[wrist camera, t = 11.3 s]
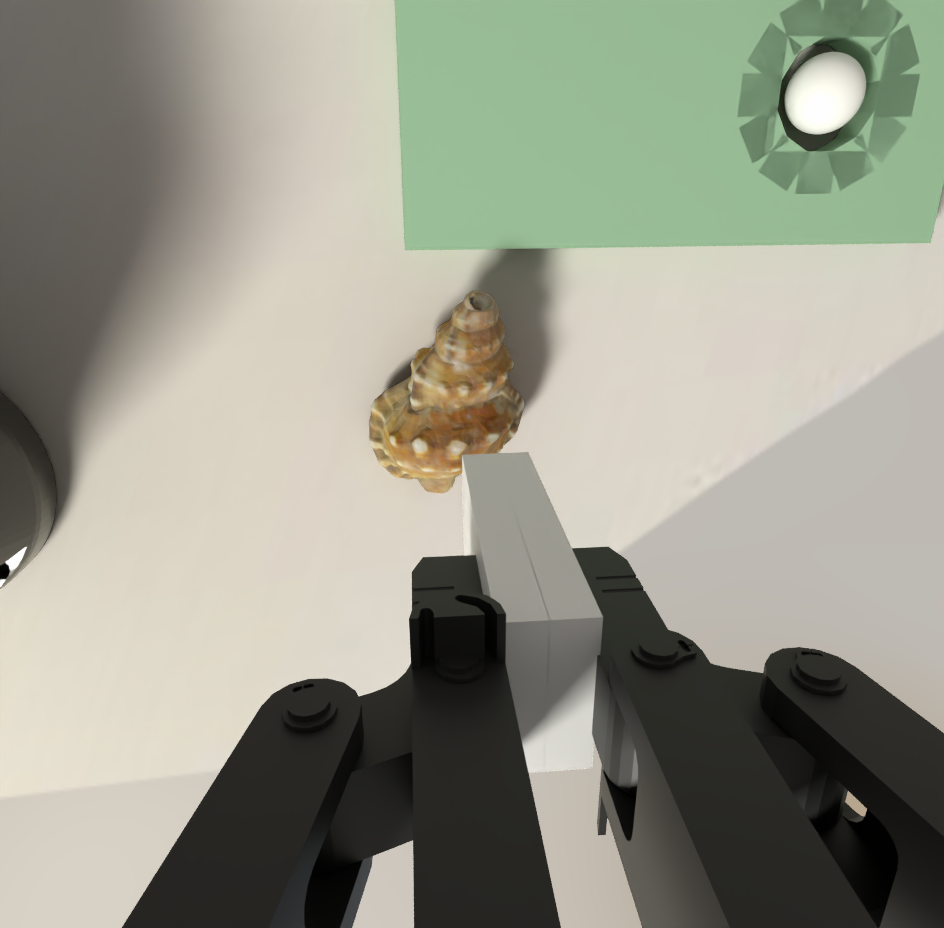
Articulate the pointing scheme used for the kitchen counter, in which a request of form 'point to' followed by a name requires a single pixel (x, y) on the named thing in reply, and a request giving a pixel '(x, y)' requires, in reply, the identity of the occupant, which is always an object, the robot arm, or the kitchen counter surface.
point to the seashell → (449, 400)
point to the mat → (661, 123)
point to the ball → (825, 93)
